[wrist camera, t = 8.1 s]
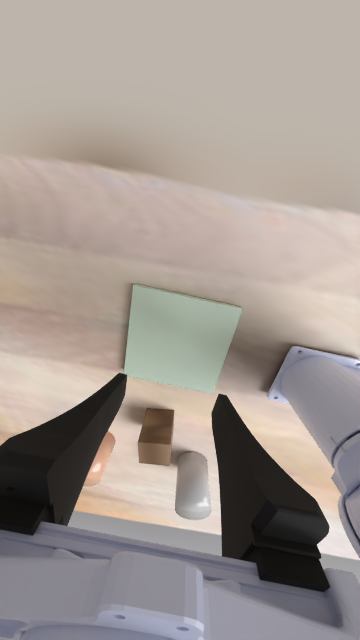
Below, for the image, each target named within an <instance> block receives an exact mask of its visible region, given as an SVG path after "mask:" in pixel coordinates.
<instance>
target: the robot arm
mask: <svg viewBox="0 0 360 640" xmlns="http://www.w3.org/2000/svg"><path fill="white" fill-rule="evenodd" d="M299 350H301V351H300V352H298V351H299ZM126 382H127V374H122V373H119V374H117V375H116V376H115V377H114V378H113V379H112V380H111V381H109V382H108V383H107V384H106V385H105V386H103V387H102V388H101V389H100V390H98V391H97V392H96V393H94V394H93V395H92V396H90V397H89V398H87V399H86V400H85V401H83V402H82V403H80V404H78V405H77V406H75V407H74V408H72V409H70V410H69V411H67V412H65V413H63V414H62V415H60V416H58V417H56V418H54V419H52V420H50V421H48V422H46V423H44V424H42V425H40V426H37V427H35V428H33V429H31V430H28V431H26V432H23V433H21V434H18V435H16V436H13V437H11V438H9V439H8V440H7V441H5V442H4V443H3V444H2V445H1V446H0V640H360V584H359V582H358V580H357V578H356V576H355V575H354V574H353V573H351V572H347V571H342V570H337V569H331V568H327V569H323V568H322V566H321V563H320V561H319V559H320V558H321V554H320V552H319V549H318V547H317V544H318V543H319V542H320V541H321V540H322V539H324V538H325V537H326V535H327V534H328V532H329V524H328V522H327V520H326V518H325V516H324V514H323V512H322V511H321V509H320V507H319V505H318V503H317V501H316V500H315V499H314V498H313V497H312V496H311V495H310V494H309V493H308V492H306V491H305V490H304V489H303V488H302V487H301V486H300V485H298V484H297V483H296V482H295V481H294V480H293V479H292V478H291V477H290V476H289V475H288V474H287V473H286V472H285V471H284V470H283V469H282V468H281V467H280V466H279V465H278V464H277V463H276V462H275V461H274V460H273V459H272V458H271V457H270V455H269V454H268V453H267V452H266V451H265V450H264V449H263V447H262V446H261V445H260V444H259V443H258V441H257V440H256V439H255V438H254V436H253V435H252V434H251V432H250V431H249V429H248V428H247V427H246V425H245V424H244V422H243V421H242V419H241V418H240V416H239V415H238V413H237V412H236V410H235V408H234V407H233V405H232V403H231V402H230V400H229V399H228V397H227V395H222V394H219V395H218V397H217V400H216V403H215V405H214V408H213V411H212V429H213V436H214V442H215V449H216V455H217V462H218V470H219V484H220V502H221V527H222V556H217V555H211V554H207V553H202V552H196V551H191V550H186V549H181V548H176V547H171V546H166V545H160V544H155V543H150V542H145V541H140V540H135V539H130V538H125V537H119V536H115V535H109V534H105V533H99V532H94V531H88V530H84V529H79V528H73V527H68V526H67V525H68V523H69V520H70V517H71V515H72V512H73V510H74V507H75V505H76V502H77V500H78V497H79V495H80V492H81V490H82V487H83V485H84V482H85V480H86V477H87V475H88V473H89V470H90V468H91V466H92V463H93V461H94V458H95V456H96V454H97V452H98V449H99V447H100V445H101V443H102V441H103V439H104V437H105V435H106V433H107V431H108V429H109V427H110V425H111V424H112V422H113V420H114V418H115V416H116V414H117V412H118V410H119V408H120V406H121V404H122V401H123V399H124V396H125V390H126ZM275 396H276V397H275ZM267 397H268V398H269V399H270V400H275V401H280V402H285V403H289V404H290V405H291V406H292V408H293V409H294V411H295V412H296V414H297V415H298V417H299V418H300V420H301V421H302V423H303V424H304V426H305V427H306V428H307V430H308V431H309V433H310V434H311V436H312V437H313V439H314V440H315V442H316V443H317V445H318V446H319V448H320V449H321V451H322V452H323V453H324V455H325V456H326V458H327V459H328V461H329V462H330V464H331V465H332V467H333V468H334V470H335V472H334V474H333V476H332V477H331V479H332V480H333V482H334V484H335V485H336V487H337V488H338V490H339V491H340V493H341V496H340V498H339V501H338V511H339V516H340V519H341V522H342V525H343V527H344V530H345V532H346V534H347V536H348V538H349V540H350V542H351V544H352V546H353V548H354V549H355V551H356V553H357V554H358V556H359V558H360V360H359V359H355V358H350V357H345V356H341V355H336V354H331V353H327V352H322V351H317V350H313V349H308V348H303V347H298V346H293V347H291V348H290V350H289V352H288V354H287V356H286V358H285V360H284V362H283V364H282V366H281V368H280V370H279V372H278V374H277V376H276V378H275V380H274V382H273V384H272V386H271V388H270V390H269V392H268V394H267Z"/></svg>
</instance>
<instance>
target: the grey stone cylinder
mask: <svg viewBox="0 0 360 640" xmlns="http://www.w3.org/2000/svg"><path fill="white" fill-rule="evenodd" d="M175 511H176V513H177V514H178V515H179V516H181V517H183V518H186V519H190V520H200V519H204V518H206V517H208V516H209V515H210V514H211V502H210V490H209V478H208V466H207V459H206V457H205V456H204V455H202V454H200V453H198V452H185V453H183V454H181V455H180V456H179V458H178V468H177V484H176V501H175Z"/></svg>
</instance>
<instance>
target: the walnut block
mask: <svg viewBox="0 0 360 640" xmlns="http://www.w3.org/2000/svg"><path fill="white" fill-rule="evenodd" d="M173 423H174V410H163V409H151V408H147V412H146V415H145V419H144V422H143V426H142V429H141V433H140V436H139V440H138V452H139V463H145V464H155V465H166V466H170V457H171V447H172V437H173Z"/></svg>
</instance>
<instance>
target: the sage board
mask: <svg viewBox="0 0 360 640" xmlns="http://www.w3.org/2000/svg"><path fill="white" fill-rule="evenodd" d="M242 310H243V309H242V308H241V307H240V306H236V305H231V304H227V303H222V302H217V301H213V300H208V299H204V298H199V297H194V296H190V295H185V294H180V293H176V292H171V291H167V290H162V289H157V288H153V287H148V286H144V285H139V284H135V285H133V291H132V300H131V310H130V319H129V329H128V338H127V348H126V357H125V367H124V374H127V376H128V377H133V378H138V379H143V380H148V381H153V382H157V383H162V384H167V385H172V386H177V387H182V388H186V389H191V390H196V391H201V392H206V393H211V394H213V392H214V389H215V386H216V383H217V381H218V378H219V375H220V372H221V369H222V367H223V364H224V361H225V358H226V355H227V352H228V350H229V347H230V344H231V341H232V338H233V336H234V333H235V330H236V327H237V324H238V322H239V319H240V316H241V313H242Z"/></svg>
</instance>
